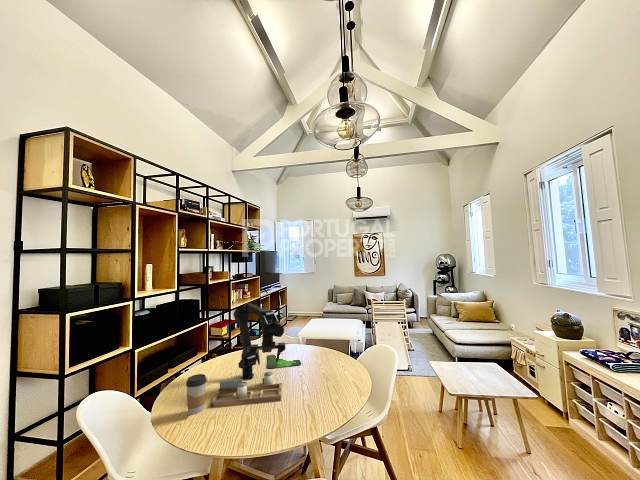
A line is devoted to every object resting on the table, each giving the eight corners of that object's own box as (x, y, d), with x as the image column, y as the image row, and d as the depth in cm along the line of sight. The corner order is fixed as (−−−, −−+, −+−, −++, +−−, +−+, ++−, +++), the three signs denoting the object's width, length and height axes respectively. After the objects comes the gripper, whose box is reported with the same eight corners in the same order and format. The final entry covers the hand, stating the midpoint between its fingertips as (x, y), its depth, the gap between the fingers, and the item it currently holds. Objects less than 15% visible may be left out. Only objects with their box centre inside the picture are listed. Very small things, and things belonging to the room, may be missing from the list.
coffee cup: (210, 410, 116) (210, 375, 117) (193, 420, 109) (193, 383, 110) (198, 406, 120) (199, 372, 122) (181, 415, 113) (182, 379, 114)
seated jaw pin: (238, 396, 125) (238, 382, 126) (247, 395, 126) (247, 381, 127) (236, 401, 121) (236, 386, 122) (246, 400, 122) (246, 385, 122)
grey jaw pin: (264, 384, 140) (264, 372, 140) (273, 384, 140) (272, 371, 141) (263, 388, 135) (263, 375, 136) (272, 387, 136) (272, 374, 137)
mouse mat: (266, 355, 187) (266, 354, 187) (296, 352, 192) (296, 351, 192) (266, 370, 161) (266, 368, 161) (302, 366, 165) (302, 364, 166)
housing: (220, 393, 132) (220, 381, 133) (281, 387, 136) (281, 376, 137) (211, 410, 116) (211, 397, 117) (280, 403, 120) (280, 390, 121)
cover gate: (220, 389, 133) (220, 380, 134) (242, 387, 135) (242, 378, 135) (219, 391, 131) (219, 382, 131) (242, 389, 132) (242, 380, 133)
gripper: (247, 339, 131) (247, 371, 130) (284, 337, 134) (285, 368, 132) (250, 333, 142) (251, 363, 141) (285, 331, 145) (285, 360, 143)
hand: (268, 364), depth 139 cm, fingers open, 9 cm apart
